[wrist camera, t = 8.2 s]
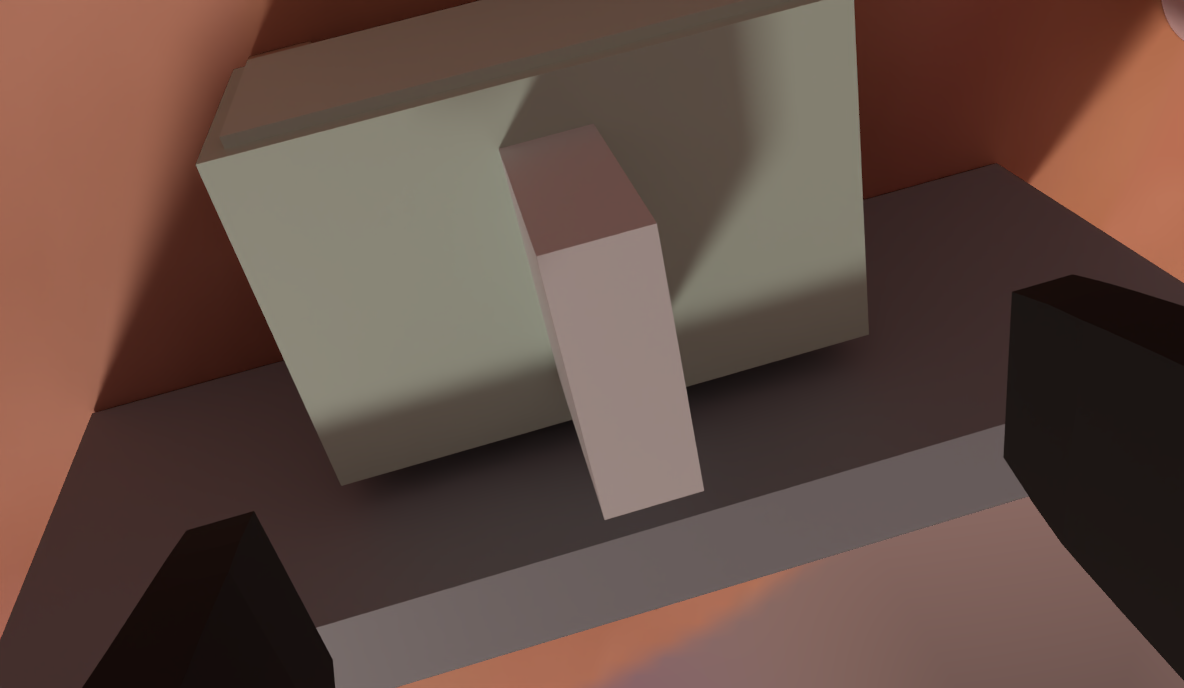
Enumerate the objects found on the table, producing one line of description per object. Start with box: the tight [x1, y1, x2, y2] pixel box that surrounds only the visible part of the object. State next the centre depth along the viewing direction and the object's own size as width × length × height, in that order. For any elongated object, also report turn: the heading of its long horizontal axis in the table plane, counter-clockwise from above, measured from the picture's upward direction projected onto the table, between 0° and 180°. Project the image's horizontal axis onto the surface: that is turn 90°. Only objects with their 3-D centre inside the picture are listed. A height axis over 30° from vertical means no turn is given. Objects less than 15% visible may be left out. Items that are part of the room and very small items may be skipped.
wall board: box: [0, 163, 1184, 688], centre depth 15 cm, size 18×4×7 cm, turn 101°
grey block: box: [196, 0, 869, 520], centre depth 14 cm, size 8×5×8 cm, turn 101°
